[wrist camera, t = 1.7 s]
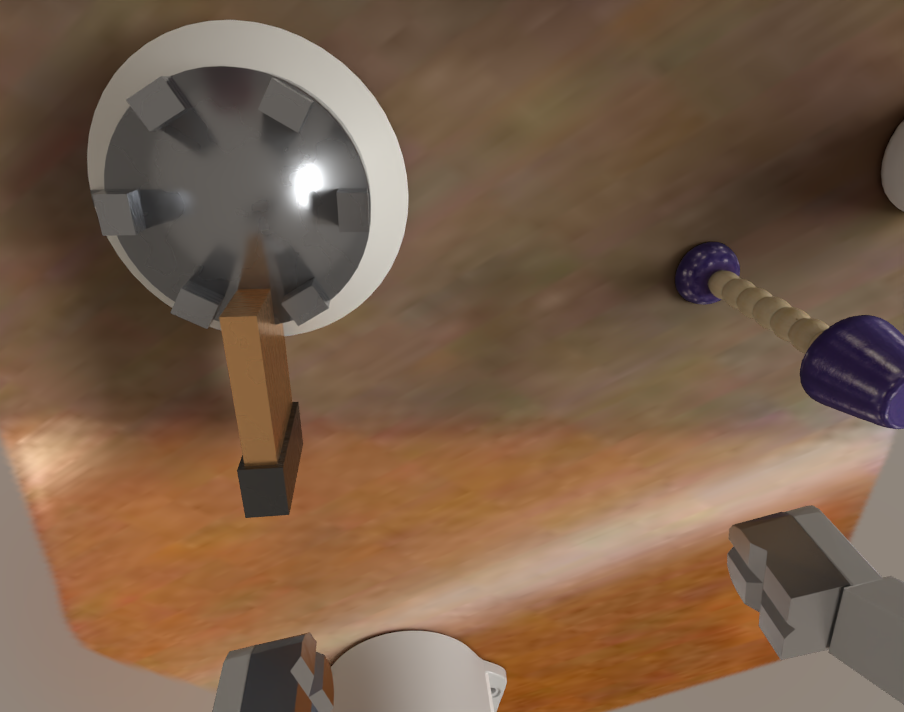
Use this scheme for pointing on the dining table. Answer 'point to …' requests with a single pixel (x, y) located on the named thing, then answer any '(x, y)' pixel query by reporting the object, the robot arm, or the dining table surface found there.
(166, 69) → the white round plate
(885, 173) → the milk bottle
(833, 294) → the dining table surface
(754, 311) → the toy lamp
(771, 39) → the dining table surface
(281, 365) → the lugged steel disc
